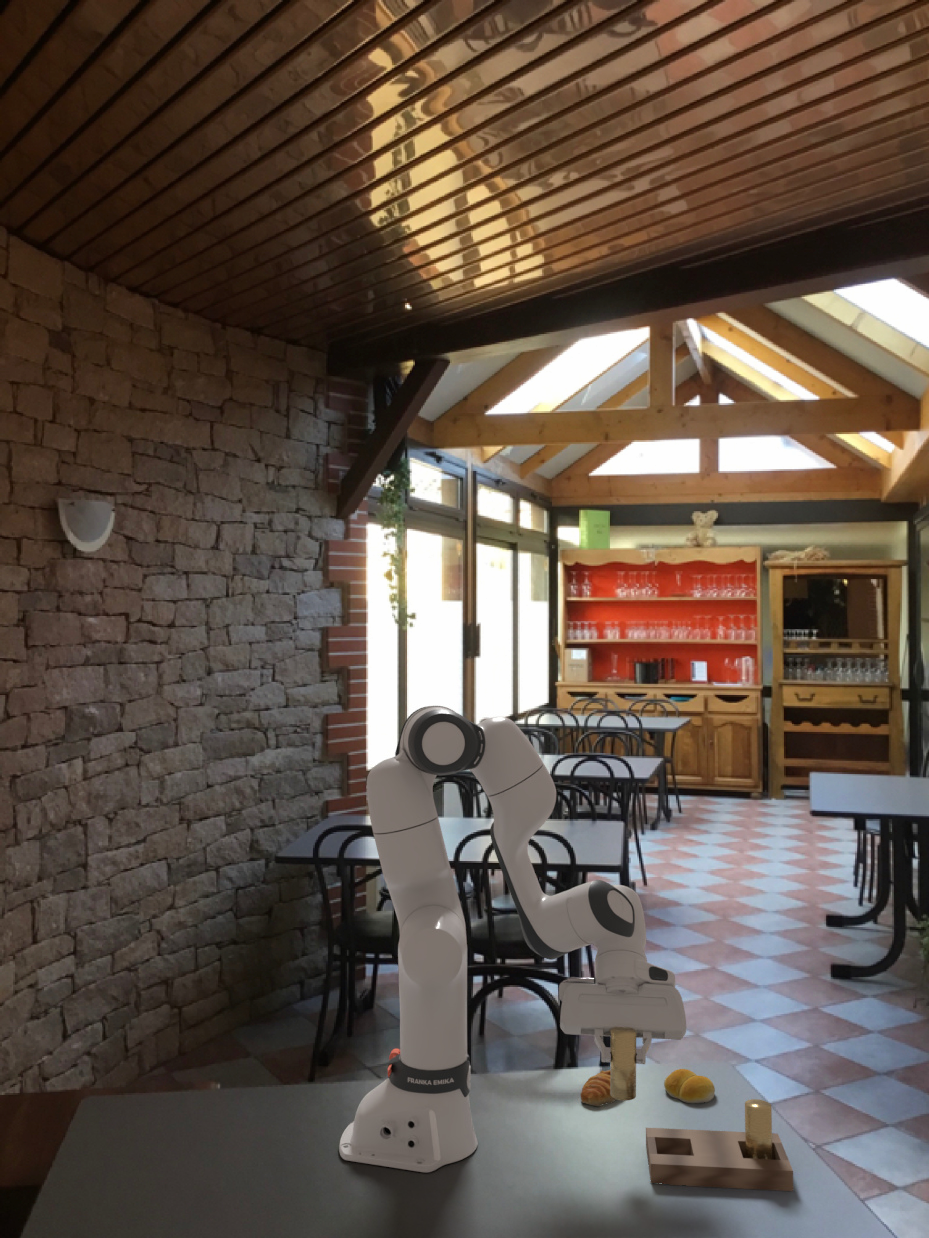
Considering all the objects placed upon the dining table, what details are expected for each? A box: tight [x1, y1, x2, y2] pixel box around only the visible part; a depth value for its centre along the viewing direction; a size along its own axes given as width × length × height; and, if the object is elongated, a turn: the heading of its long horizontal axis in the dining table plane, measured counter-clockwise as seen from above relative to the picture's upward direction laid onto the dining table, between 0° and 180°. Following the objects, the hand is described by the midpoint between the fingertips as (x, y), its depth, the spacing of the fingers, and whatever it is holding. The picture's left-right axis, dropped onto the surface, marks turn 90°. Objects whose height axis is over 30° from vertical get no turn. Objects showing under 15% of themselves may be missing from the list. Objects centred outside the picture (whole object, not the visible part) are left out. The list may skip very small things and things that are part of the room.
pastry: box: [580, 1069, 616, 1107], centre depth 188 cm, size 9×7×4 cm
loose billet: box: [610, 1027, 637, 1102], centre depth 164 cm, size 4×4×10 cm
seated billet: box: [744, 1098, 773, 1160], centre depth 161 cm, size 4×4×10 cm
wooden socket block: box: [645, 1127, 794, 1192], centre depth 162 cm, size 21×12×3 cm, turn 84°
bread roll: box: [663, 1068, 716, 1104], centre depth 189 cm, size 8×9×4 cm
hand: (623, 1061), depth 163 cm, fingers closed on loose billet, 4 cm apart
